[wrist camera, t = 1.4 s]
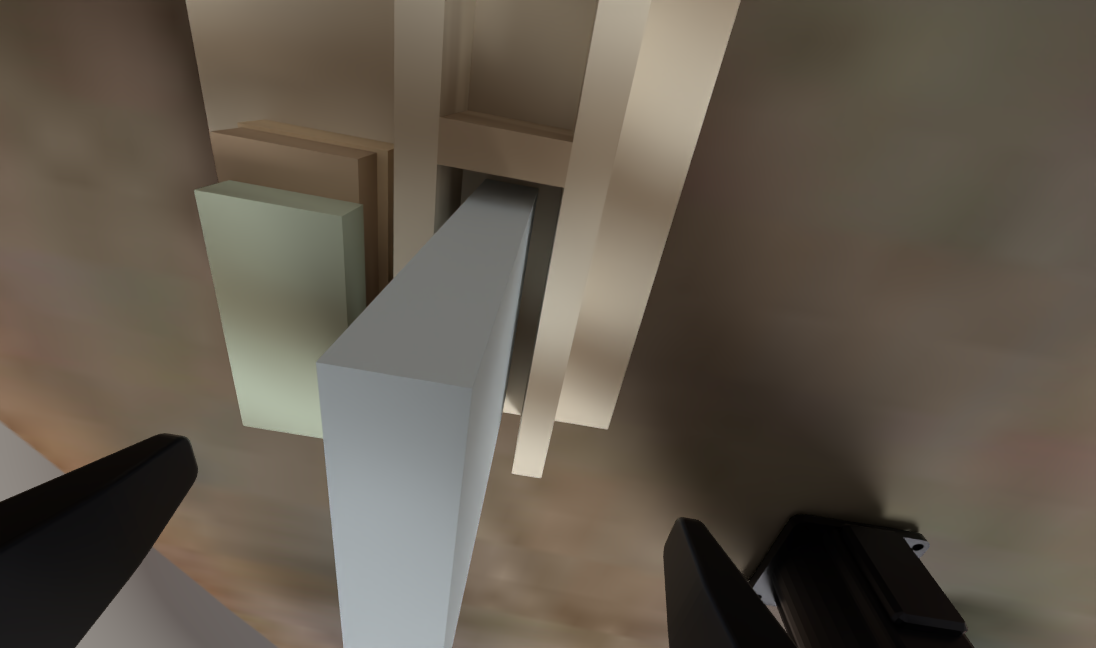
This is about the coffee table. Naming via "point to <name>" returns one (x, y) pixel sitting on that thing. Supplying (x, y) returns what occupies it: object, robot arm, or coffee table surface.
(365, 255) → the offcut stack
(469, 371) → the sheet
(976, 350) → the coffee table surface
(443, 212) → the rack
